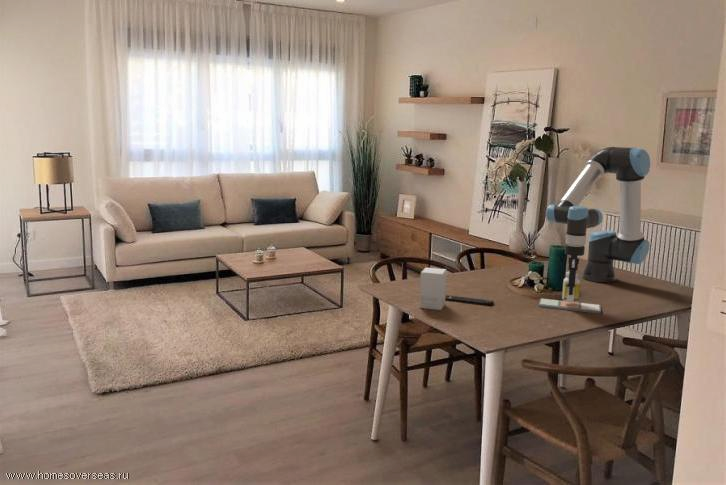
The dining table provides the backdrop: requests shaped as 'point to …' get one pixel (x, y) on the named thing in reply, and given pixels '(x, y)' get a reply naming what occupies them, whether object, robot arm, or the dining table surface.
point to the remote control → (469, 300)
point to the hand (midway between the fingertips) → (570, 299)
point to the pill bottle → (565, 282)
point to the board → (570, 305)
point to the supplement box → (433, 288)
